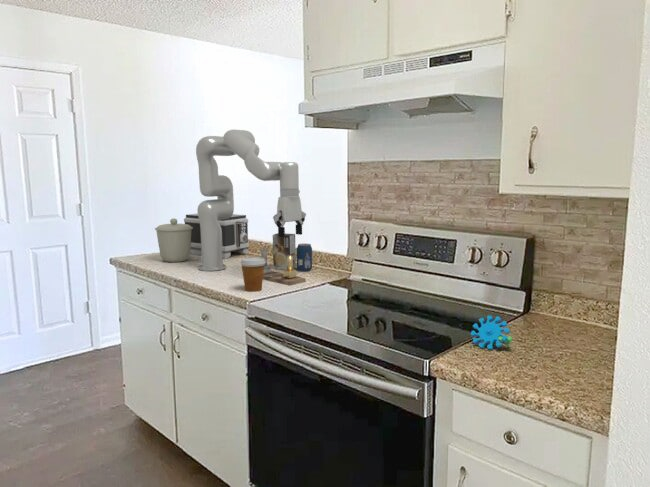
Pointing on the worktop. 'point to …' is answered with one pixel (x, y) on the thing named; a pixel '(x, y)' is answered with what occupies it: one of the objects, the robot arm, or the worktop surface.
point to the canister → (174, 241)
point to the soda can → (304, 257)
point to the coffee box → (283, 250)
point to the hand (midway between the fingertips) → (290, 235)
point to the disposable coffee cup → (253, 273)
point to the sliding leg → (289, 268)
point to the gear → (491, 333)
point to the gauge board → (277, 273)
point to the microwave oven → (231, 234)
